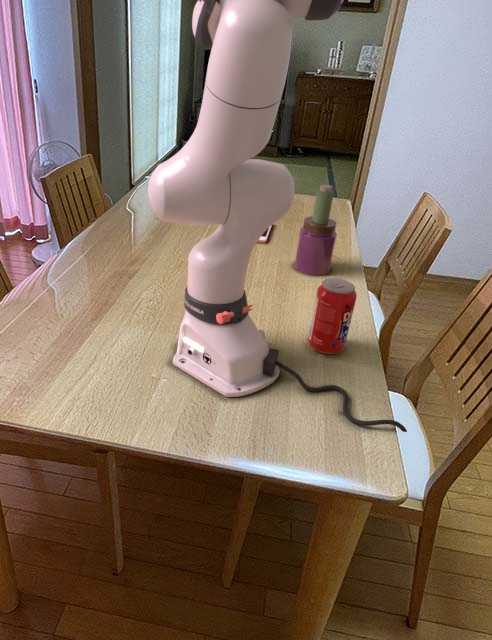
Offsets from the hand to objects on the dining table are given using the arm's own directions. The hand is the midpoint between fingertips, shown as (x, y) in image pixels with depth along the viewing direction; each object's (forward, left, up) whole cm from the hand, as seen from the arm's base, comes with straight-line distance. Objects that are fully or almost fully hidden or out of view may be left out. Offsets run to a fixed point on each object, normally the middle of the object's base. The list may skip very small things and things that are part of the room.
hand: (244, 129), depth 118 cm
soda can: (-42, +8, -37) cm, 57 cm away
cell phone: (+18, -25, -37) cm, 48 cm away
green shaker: (-12, -20, -23) cm, 33 cm away
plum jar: (-12, -20, -37) cm, 44 cm away
